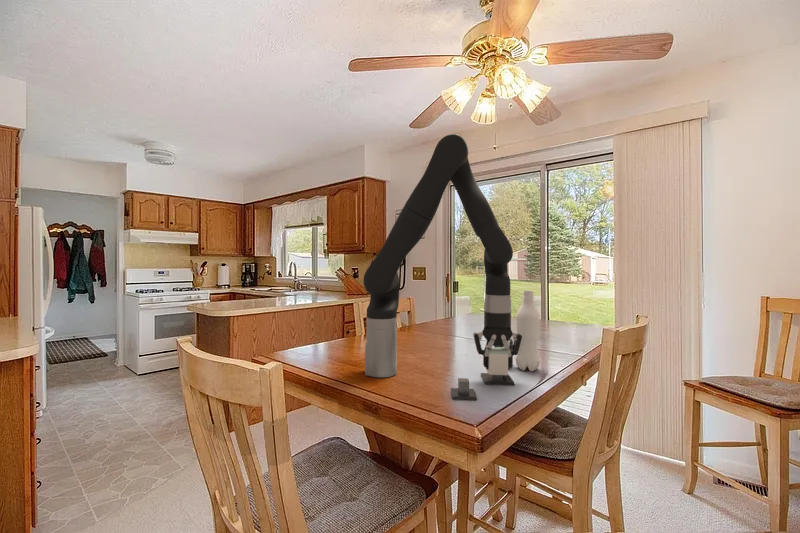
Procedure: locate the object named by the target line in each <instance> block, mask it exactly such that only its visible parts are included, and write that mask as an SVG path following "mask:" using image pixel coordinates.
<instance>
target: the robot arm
mask: <svg viewBox="0 0 800 533" xmlns="http://www.w3.org/2000/svg"><path fill="white" fill-rule="evenodd" d="M468 147H469V146H468V143H467V142H466V140H465V139H464V138H463V137H462V136H461V135H459V134H456V133H451V134H447V135H445V136H443V137H442V138H441V139H440V140H439V141H438V142H437V143H436V146H435V147H434V149H433V150H434V151H433V153H432V155H431V158H430V160H429V162H428V164H427V166H426V169H425V171H424V173H423V174H422V177H421V178H420V180H419V181H418V183H417V185H415V188H414V189H413V190H412V192H411V194H410V196H409V197H408V198H407V200H406V202H405V203H404V206H403V207H402V209H401V211H400V212H399V214H398V216H397V218H396V220H395V223H394V224H393V226H392V228H391V229H390V232H389V234H388V236H387V238H386V240H385V242H384V244H383V245H382V248H381V249H380V250H379V251H378V253H377V254H376V256H375V258H374V259H373V261H372V262H371V263H370V265H369V266H368V267H367V269H366V271H365V273H364V275H363V281H362V282H363V287H364V289H365V290H366V292H367V293H368V294H369V295H370V300H369V303H368V306H367V308H366V341H365V345H364V350H365V351H364V354H365V355H364V374H365V377H366V376H367V377H368V376H369V377H373V378H389V377H393V376H395V375H396V374H397V372H398V371H397V366H398V365H397V361H398V359H397V355H398V354H397V350H398V349H397V346H398V345H397V342H398V340H397V339H398V333H397V332H398V330H397V328H398V326H397V325H398V322H397V320H398V319H397V318H398V308H399V303H400V277H399V273H398V271H399V269H400V267H401V265H402V263H403V261H404V260H405V258H406V257H407V256H408V255H409V253H410V252H411V251H412V250H413V249H414V248H415V247H416V246H417V244H418V243H419V242H420V241H421V239H422V238H423V237H424V235H425V234H426V232H427V230H428V229H429V226H430V225H431V223H432V222H433V219H434V217H435V215H436V212H438V208H439V205H440V204H441V201H442V198H443V195H444V193H445V191H446V189H447V186H448V185H449V183H450V181H451V183H452V185H453V187H454V188H455V190H456V193H457V195H458V197H459V199H460V202H461V205H462V207H463V210H464V212H465V214H466V217H467V219H468V220H469V223H470V225H471V227H472V229H473V231H474V233H475V235H476V236H477V237H478V238H479V240H480V242H481V243H482V245H483V247H484V251H483V263H484V265H483V266H484V273H485V274H484V275H485V286H484V287H485V290H484V291H485V292H484V294H485V295H484V301H483V302H484V303H483V305H484V306H483V318H484V319H483V329H482V331H480V332H473V334H472V335H473V340H474V344H475V348H476V352H477V353H478V355H481V356H483V358H482V361H483V362H482V363H483V367H484V368H485V369H488V360H489V357H488V356H489V350H491V349H492V347H494V346H497V345H499V346H503V348H504V349H505V351H508V370H509V369H510V367H511V356H513V357H514V356H517V355H518V351H519V347H520V343H521V340H522V336H521V335H520V334H519V333H517V334H516V332H513V331H512V298H511V278H510V276H509V274H508V270H509V269H508V264H509V263H510V262H511V261H512V259H513V256H514V251H513V247H512V245H511V242H510V240H509V239H508V237H507V236H506V234H505V233H504V231H503V229H502V228H501V226H500V225H499V223H498V220H497V219H496V216H495V214H494V212H493V209H492V207H491V205H490V203H489V202H488V199H487V198H486V196H485V194H484V193H483V192H482V190H481V188H480V187H479V185H478V183H477V181H476V178H475V177H474V174H473V172H472V168H471V165H470V161H469V157H468V156H469V148H468ZM483 338H484V339H485V340H486V342H485V345H484V346H485V347H484V348H482V344H481V341H482V339H483ZM510 338H511V339H512V340H513V347H512V350H510V349H509V346H508V343H507V342H508V341H509V339H510ZM511 368H512V367H511Z"/></svg>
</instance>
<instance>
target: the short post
mask: <svg viewBox="0 0 800 533" xmlns="http://www.w3.org/2000/svg"><path fill="white" fill-rule="evenodd" d="M450 393H451V397H452V398H451V399H452V400H455V401H457V400H461V401H477V400H478V397H477V396H478V395H477V393H476V391H475V388H470V380H469V378H466V377H465V378H464V377H463V378H460V377H459V378H457V388H456V387H451V388H450Z"/></svg>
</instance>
